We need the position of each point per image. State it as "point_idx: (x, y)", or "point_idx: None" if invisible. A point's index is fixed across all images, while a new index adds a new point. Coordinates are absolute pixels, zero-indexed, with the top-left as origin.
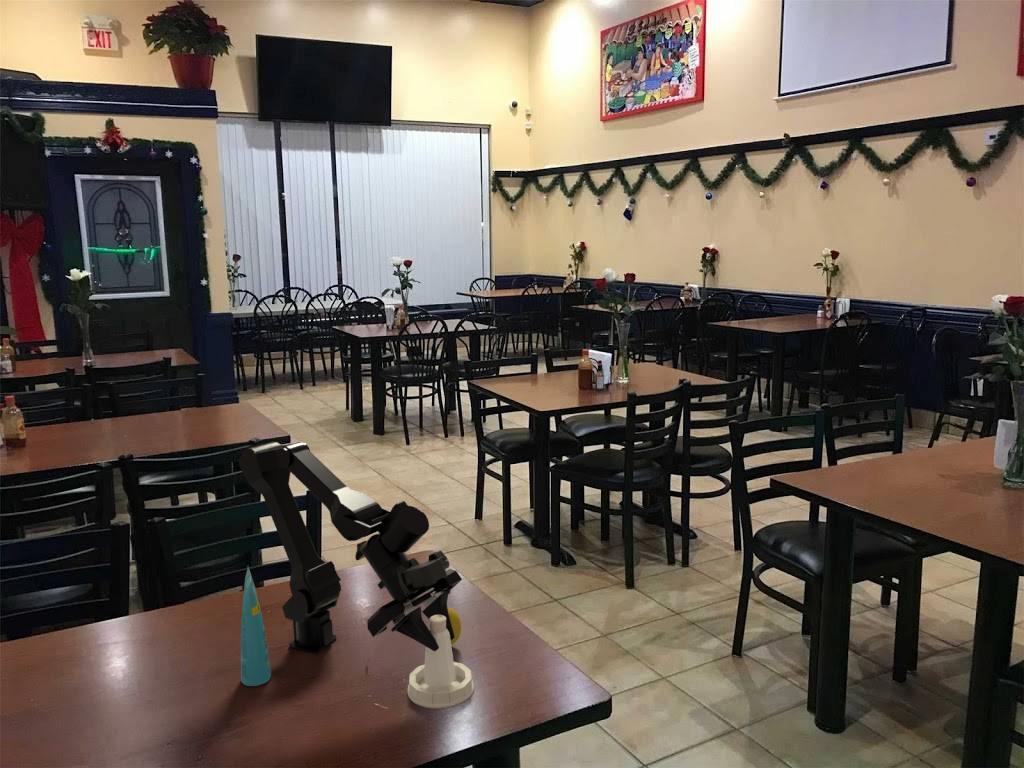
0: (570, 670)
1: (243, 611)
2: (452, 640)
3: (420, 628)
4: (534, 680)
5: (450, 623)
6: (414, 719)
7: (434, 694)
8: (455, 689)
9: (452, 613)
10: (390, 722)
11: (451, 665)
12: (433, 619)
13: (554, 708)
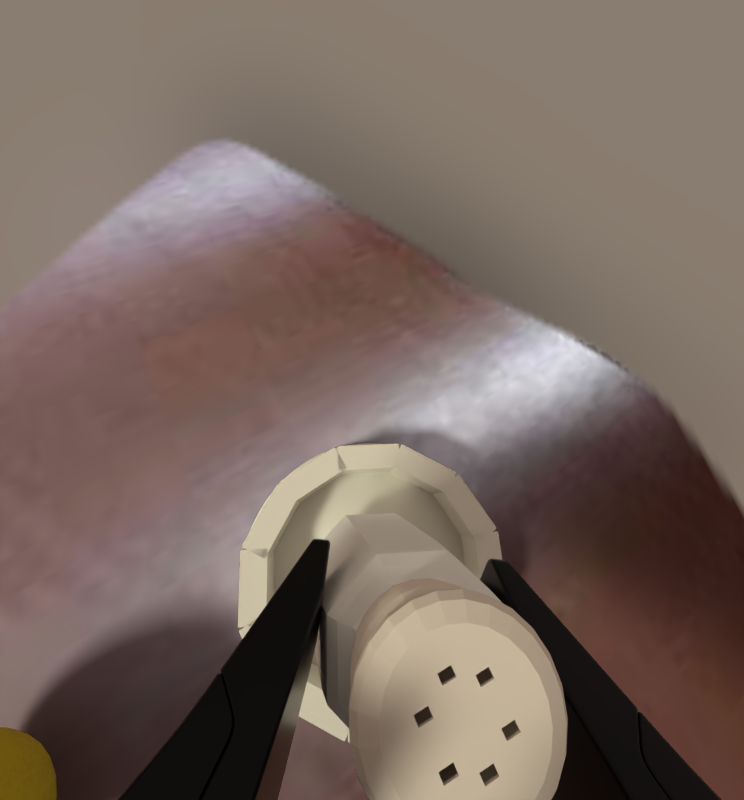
0: (93, 232)
1: None
2: (26, 739)
3: (708, 788)
4: (189, 306)
5: (267, 617)
6: (558, 547)
7: (491, 523)
8: (429, 464)
9: None
10: (616, 615)
11: (373, 521)
12: (534, 749)
13: (313, 213)
